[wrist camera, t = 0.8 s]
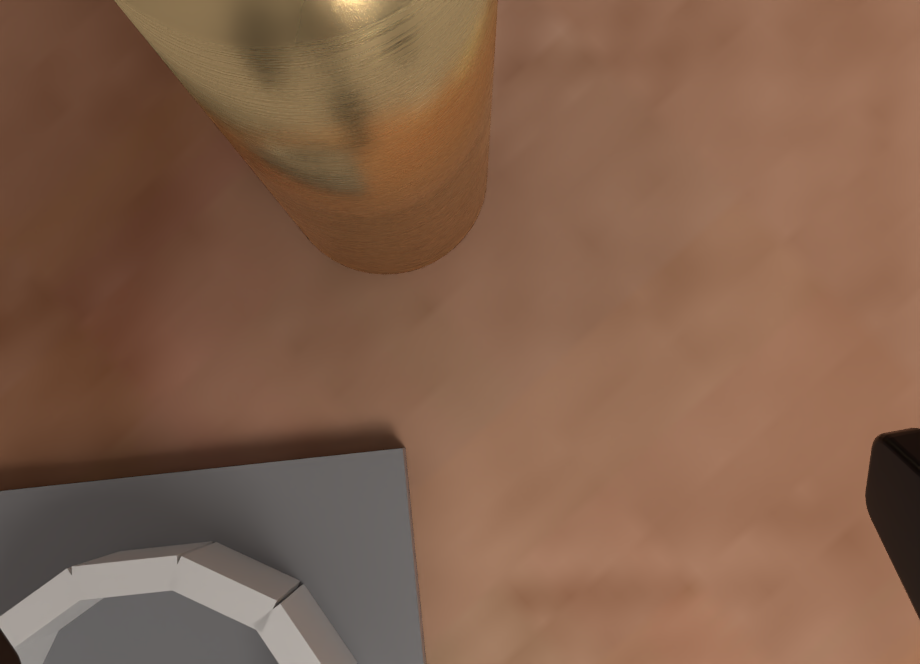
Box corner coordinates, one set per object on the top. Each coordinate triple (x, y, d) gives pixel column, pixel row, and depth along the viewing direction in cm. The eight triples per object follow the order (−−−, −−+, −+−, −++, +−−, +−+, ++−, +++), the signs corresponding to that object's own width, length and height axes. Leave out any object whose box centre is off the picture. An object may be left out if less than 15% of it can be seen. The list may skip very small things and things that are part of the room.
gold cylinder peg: (497, 262, 22) (534, 16, 9) (294, 284, 22) (46, 67, 9) (475, 68, 23) (481, -416, 10) (278, 90, 23) (25, -367, 10)
